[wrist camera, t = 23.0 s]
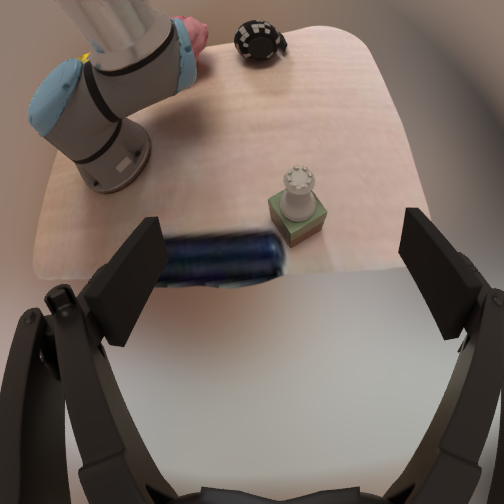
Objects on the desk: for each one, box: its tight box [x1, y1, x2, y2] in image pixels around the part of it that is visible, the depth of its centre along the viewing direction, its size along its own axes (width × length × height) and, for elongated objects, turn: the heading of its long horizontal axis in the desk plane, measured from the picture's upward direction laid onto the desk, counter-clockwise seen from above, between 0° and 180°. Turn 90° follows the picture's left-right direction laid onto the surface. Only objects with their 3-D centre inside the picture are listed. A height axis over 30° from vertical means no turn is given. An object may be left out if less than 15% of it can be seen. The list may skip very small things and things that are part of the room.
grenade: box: [234, 20, 287, 61], centre depth 49 cm, size 11×10×15 cm
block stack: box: [268, 189, 327, 248], centre depth 39 cm, size 6×6×7 cm
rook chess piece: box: [280, 166, 316, 222], centre depth 32 cm, size 4×4×8 cm
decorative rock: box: [170, 16, 208, 63], centre depth 47 cm, size 19×14×15 cm
